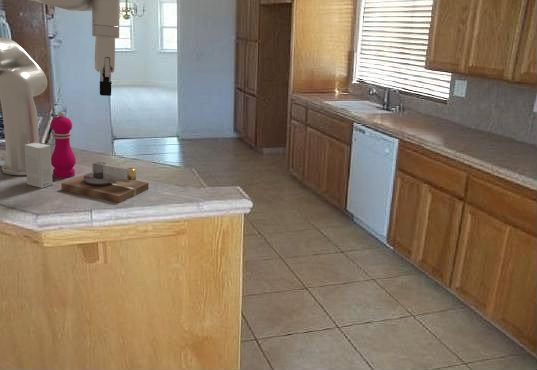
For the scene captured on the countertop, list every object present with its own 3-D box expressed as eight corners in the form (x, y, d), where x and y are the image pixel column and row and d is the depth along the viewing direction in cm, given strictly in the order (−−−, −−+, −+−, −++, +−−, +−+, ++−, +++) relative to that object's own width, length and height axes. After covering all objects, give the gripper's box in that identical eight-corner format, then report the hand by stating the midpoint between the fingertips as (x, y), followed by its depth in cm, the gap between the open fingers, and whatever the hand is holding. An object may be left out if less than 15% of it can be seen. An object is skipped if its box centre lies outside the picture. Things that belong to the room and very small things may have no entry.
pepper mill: (68, 179, 158) (65, 114, 152) (46, 176, 160) (42, 112, 153) (80, 173, 165) (78, 111, 159) (60, 170, 166) (57, 108, 160)
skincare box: (53, 184, 153) (51, 145, 149) (41, 188, 149) (39, 148, 146) (38, 180, 155) (35, 141, 152) (26, 184, 152) (23, 144, 148)
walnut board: (61, 189, 150) (61, 182, 149) (94, 177, 162) (93, 171, 161) (119, 202, 143) (119, 195, 142) (148, 189, 156) (148, 182, 155)
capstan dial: (77, 182, 150) (76, 165, 148) (95, 174, 158) (95, 157, 156) (127, 192, 145) (126, 173, 144) (143, 183, 154) (143, 166, 152)
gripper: (90, 29, 155) (90, 90, 161) (94, 32, 142) (94, 99, 148) (116, 31, 158) (115, 91, 164) (122, 34, 145) (121, 100, 151)
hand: (105, 95), depth 156 cm, fingers closed
